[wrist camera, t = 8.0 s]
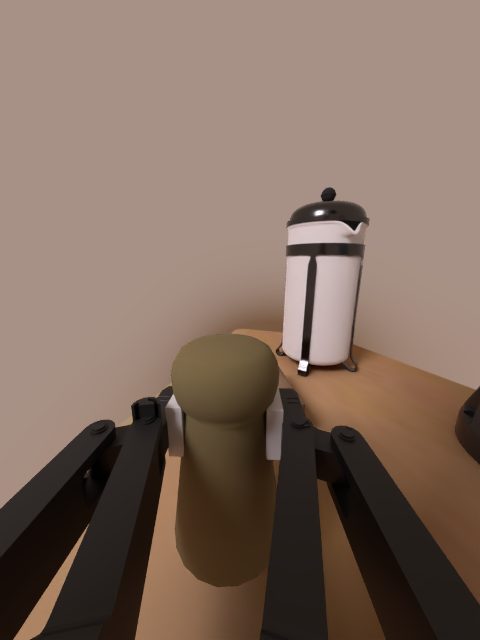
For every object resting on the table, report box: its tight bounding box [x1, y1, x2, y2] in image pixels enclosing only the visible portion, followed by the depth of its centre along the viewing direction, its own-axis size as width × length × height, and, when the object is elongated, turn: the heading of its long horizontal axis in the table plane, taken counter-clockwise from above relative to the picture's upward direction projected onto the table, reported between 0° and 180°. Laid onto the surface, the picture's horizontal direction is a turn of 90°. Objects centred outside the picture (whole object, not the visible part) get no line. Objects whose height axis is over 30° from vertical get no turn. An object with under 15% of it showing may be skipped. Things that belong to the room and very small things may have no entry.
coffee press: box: [276, 188, 369, 376], centre depth 42 cm, size 17×16×30 cm
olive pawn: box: [171, 334, 279, 587], centre depth 13 cm, size 6×6×11 cm
